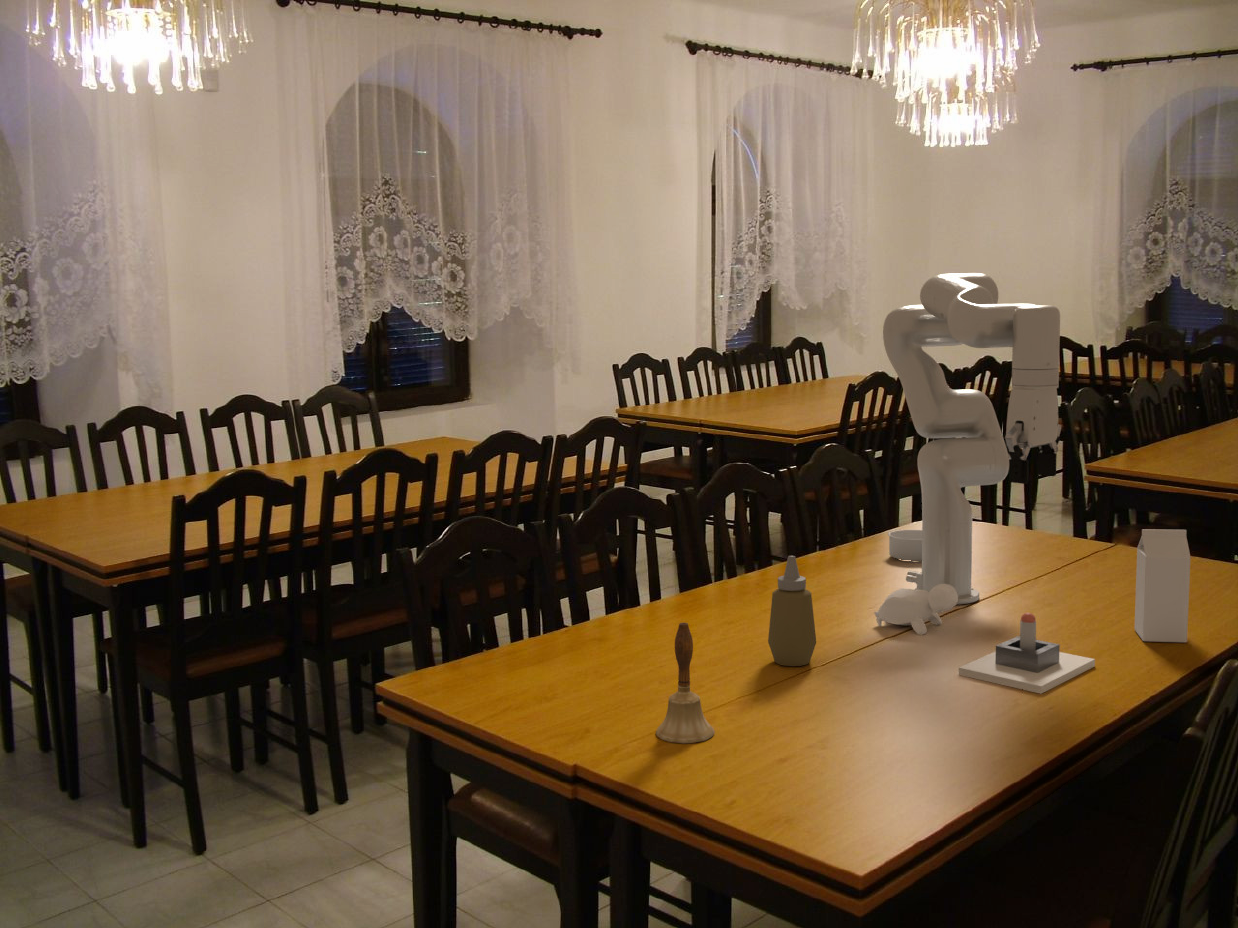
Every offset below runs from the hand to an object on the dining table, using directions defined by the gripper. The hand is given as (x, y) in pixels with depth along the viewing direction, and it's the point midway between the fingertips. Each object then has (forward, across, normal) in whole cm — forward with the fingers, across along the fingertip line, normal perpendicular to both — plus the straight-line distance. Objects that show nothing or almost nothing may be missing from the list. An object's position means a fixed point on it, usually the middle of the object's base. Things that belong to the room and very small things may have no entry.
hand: (1032, 479), depth 211 cm
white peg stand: (+28, +16, +8) cm, 33 cm away
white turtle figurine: (+29, +6, -19) cm, 35 cm away
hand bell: (+29, +73, -14) cm, 80 cm away
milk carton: (+28, -16, +16) cm, 36 cm away
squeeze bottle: (+28, +37, -23) cm, 52 cm away
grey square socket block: (+27, +16, +8) cm, 32 cm away
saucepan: (+29, -42, -46) cm, 69 cm away
